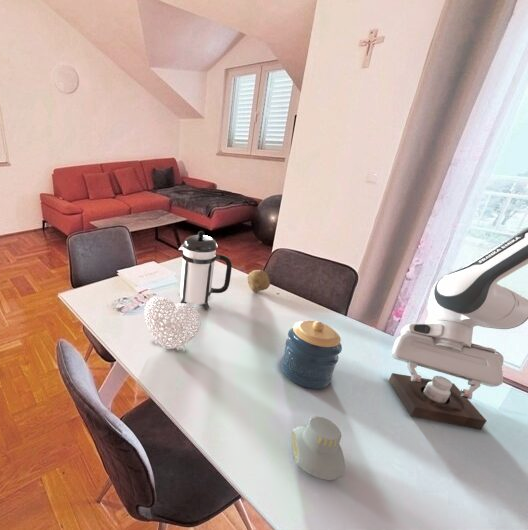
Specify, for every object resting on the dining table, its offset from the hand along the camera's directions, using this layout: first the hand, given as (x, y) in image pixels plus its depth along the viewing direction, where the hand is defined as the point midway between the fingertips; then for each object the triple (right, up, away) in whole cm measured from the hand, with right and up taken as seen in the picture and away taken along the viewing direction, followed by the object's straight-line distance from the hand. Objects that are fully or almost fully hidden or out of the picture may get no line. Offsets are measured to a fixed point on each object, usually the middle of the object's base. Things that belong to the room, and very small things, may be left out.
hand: (439, 389), depth 78 cm
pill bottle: (0, -5, +3) cm, 5 cm away
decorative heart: (-65, +4, +23) cm, 69 cm away
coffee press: (-49, +16, +50) cm, 72 cm away
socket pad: (0, -5, +3) cm, 5 cm away
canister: (-27, 0, +13) cm, 30 cm away
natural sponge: (-22, +19, +57) cm, 64 cm away
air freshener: (-38, -11, -11) cm, 41 cm away
